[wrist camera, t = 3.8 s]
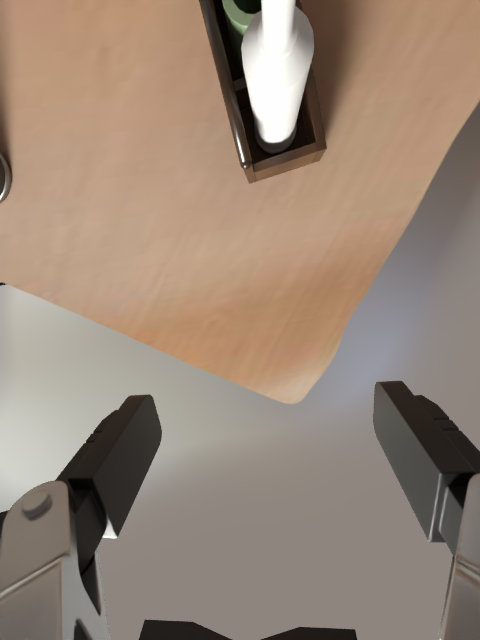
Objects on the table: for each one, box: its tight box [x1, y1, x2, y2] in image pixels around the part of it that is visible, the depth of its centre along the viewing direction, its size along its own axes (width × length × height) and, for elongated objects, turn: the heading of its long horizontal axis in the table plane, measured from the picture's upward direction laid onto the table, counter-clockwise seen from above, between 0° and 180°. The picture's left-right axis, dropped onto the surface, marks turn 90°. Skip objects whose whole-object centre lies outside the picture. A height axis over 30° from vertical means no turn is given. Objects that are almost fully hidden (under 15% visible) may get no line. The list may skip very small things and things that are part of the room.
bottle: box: [241, 0, 314, 154], centre depth 24 cm, size 5×5×25 cm
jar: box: [222, 0, 262, 78], centre depth 29 cm, size 6×6×10 cm
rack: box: [199, 0, 327, 183], centre depth 30 cm, size 10×19×11 cm, turn 16°
